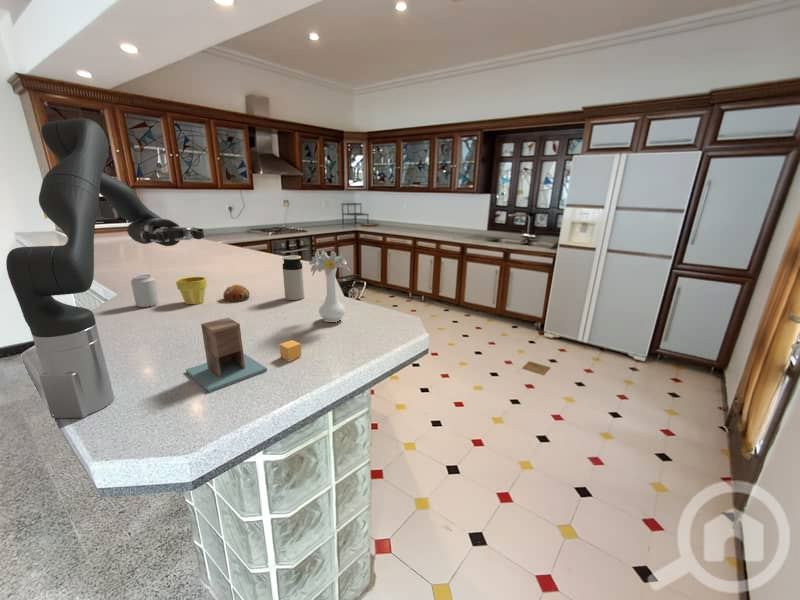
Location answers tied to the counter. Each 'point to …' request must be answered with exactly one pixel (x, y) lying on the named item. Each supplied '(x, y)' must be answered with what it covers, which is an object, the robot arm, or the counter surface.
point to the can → (144, 290)
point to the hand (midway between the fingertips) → (182, 236)
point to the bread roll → (236, 293)
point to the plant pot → (192, 289)
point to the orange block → (290, 350)
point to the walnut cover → (222, 344)
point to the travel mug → (293, 278)
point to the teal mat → (225, 374)
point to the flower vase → (329, 284)
